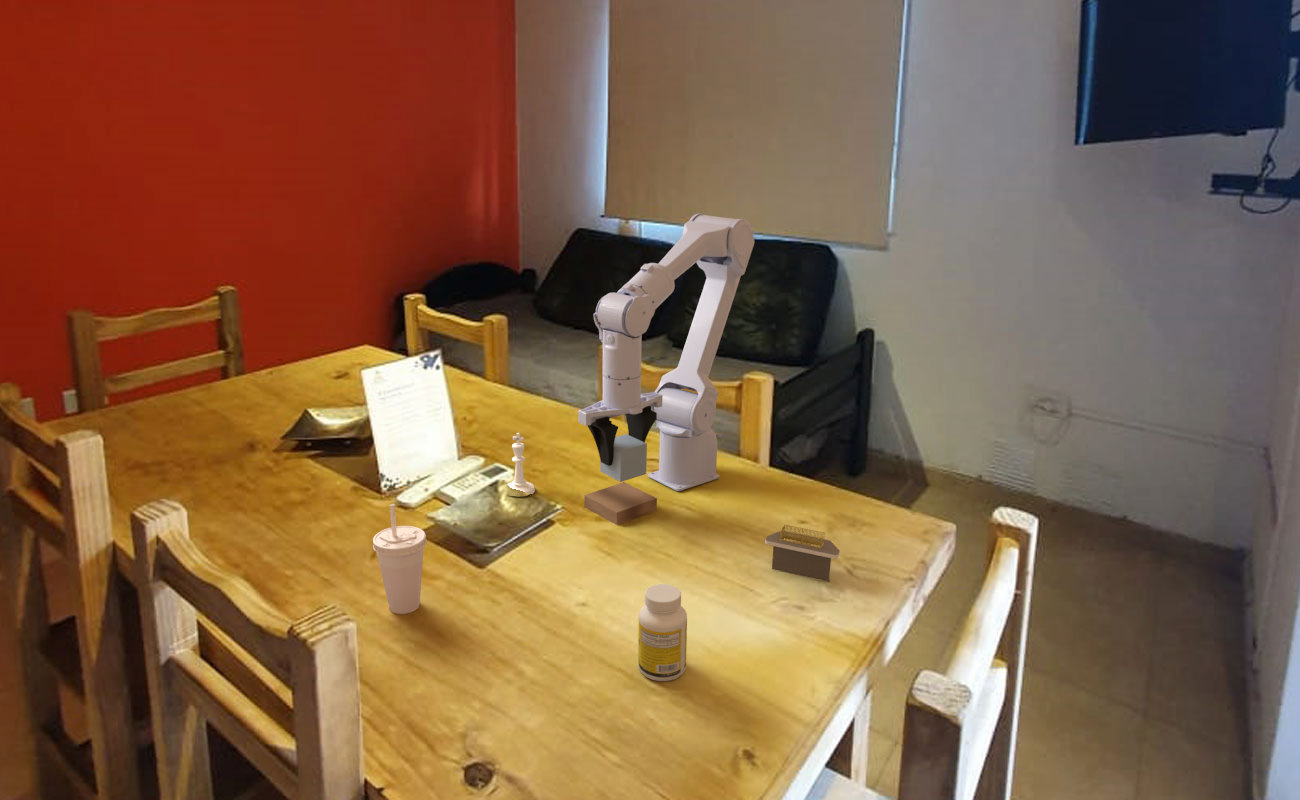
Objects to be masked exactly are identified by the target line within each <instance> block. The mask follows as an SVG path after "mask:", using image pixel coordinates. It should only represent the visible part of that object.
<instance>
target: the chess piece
mask: <svg viewBox="0 0 1300 800" xmlns="http://www.w3.org/2000/svg"><path fill="white" fill-rule="evenodd" d="M512 440H513V441H515V442H514V443H512V445H511V448H512V451H513V454H514V456H513V457H512V458H511V461H512V462H514V463H515V467H514V469H515V470H514V478H513V480H512V481H511V482H509V483H507V484H506V485H508V486H509V487H510V488H512V489H516V490H520V491H523V492H526V493H531V494H532V495H533V494H534V493H535V492H536V489H535V485H534V484H533V483H532V482H530V481H529V482H528V481H527V480H526V479H525V475H524V468H523V462H525V461H526V457H525V456H523V453H524V450H525V443H523V441H524V440H525V439H524V436H521V434H520V433H519V432H516V434H515V435H512ZM521 441H522V442H521Z"/></svg>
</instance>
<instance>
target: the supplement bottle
mask: <svg viewBox="0 0 1300 800" xmlns="http://www.w3.org/2000/svg"><path fill="white" fill-rule="evenodd" d="M687 615H688V614H687V611H686V609H685V608H684V606H682V592H681V591H680V589H679V588H678V587H677V586H674V585H672V584H667V583H657V584H653V585H651V586H649V587H647V589H645V592H644V605H643V606H642V607H641V609H640V611H639V614H638V669H639V671H640V673H641V674H642V675H643V676H645V677H646V678H647V679H650V680H653V681H657V682H669V681H674V680H677V679H678V678H680V677H681V676H682V675H683V674H684V673H685V670H686V668H687V641H688V640H687V639H688V638H687V637H688V635H687V634H688V632H687V631H688V616H687Z"/></svg>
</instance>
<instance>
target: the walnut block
mask: <svg viewBox="0 0 1300 800" xmlns="http://www.w3.org/2000/svg"><path fill="white" fill-rule="evenodd" d="M583 496H584V498H583V500H584V508H585V509H587V510H589V511H590V512H593V513H595V514H596V515H597V516H600V517H602V518H603V519H605V520H607V521H609V522H611V523H612V524H614V525H615V526H618V525H621V524H623V523H627V522H630V521H631V520H634V519H638V518H640V517H643V516H645V515H649V514H651V513H654V512H657V510H658V508H657V505H658V498H657V497H655V496H653V495H651V494H649V493H647V492H645V491H643V490H641V489H639V488H637V487H635V486H633V485H631V484H629V483H626V482H625V481H622V482H619V483H618V484H614V485H612V486H608V487H604V488H602V489H598V490H596V491H592V492H590V493H587V494H584V495H583Z"/></svg>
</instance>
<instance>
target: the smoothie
mask: <svg viewBox="0 0 1300 800" xmlns="http://www.w3.org/2000/svg"><path fill="white" fill-rule="evenodd" d="M395 505H396V504H395V503H390V504H389V511H390V524H391V527H388V528H385V529H381V530H380V531H379V532H377V533H376V534H375V535H374V536H373V539H372V549H373V551H374V552H376V556H377V562H378V564H379V570H380V573H381V576H382V577H381V578H382V582H383V587H384V591H385V594H386V600H387V604H388V609H389V611H390V612H392V613H393V614H396V615H406V614H410V613H414V612H415V611H416V610H417V609H419V607H420V605H421V592H422V576H423V575H422V573H423V564H424V563H423V561H424V560H423V559H424V547H425V546H426V545H427V543H428V542H427V540H428V539H427V536H426V532H425V531H424V530H423V529H421V528H419V527H417V526H412V525H398V526H397V519H396V518H397V517H396V507H395Z"/></svg>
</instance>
